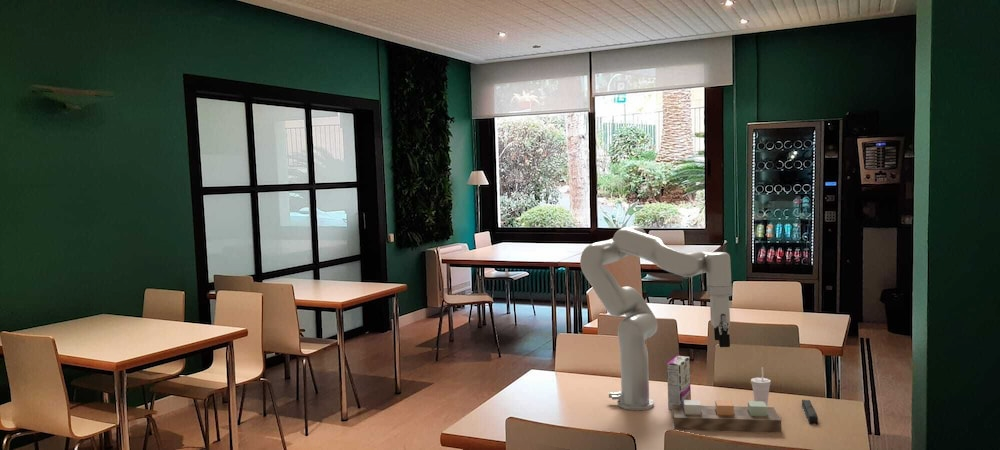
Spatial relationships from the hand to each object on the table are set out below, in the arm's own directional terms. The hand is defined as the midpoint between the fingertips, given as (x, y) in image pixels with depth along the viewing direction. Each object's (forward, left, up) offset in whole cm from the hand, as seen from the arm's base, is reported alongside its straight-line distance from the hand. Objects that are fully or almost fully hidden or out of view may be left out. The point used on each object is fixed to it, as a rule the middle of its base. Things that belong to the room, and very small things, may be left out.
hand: (722, 343), depth 225 cm
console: (0, -3, -26) cm, 26 cm away
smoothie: (+14, +14, -26) cm, 32 cm away
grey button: (-10, -3, -23) cm, 25 cm away
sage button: (+10, -3, -23) cm, 25 cm away
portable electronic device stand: (+28, +8, -26) cm, 39 cm away
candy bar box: (-13, +14, -26) cm, 32 cm away
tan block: (0, -3, -23) cm, 23 cm away
